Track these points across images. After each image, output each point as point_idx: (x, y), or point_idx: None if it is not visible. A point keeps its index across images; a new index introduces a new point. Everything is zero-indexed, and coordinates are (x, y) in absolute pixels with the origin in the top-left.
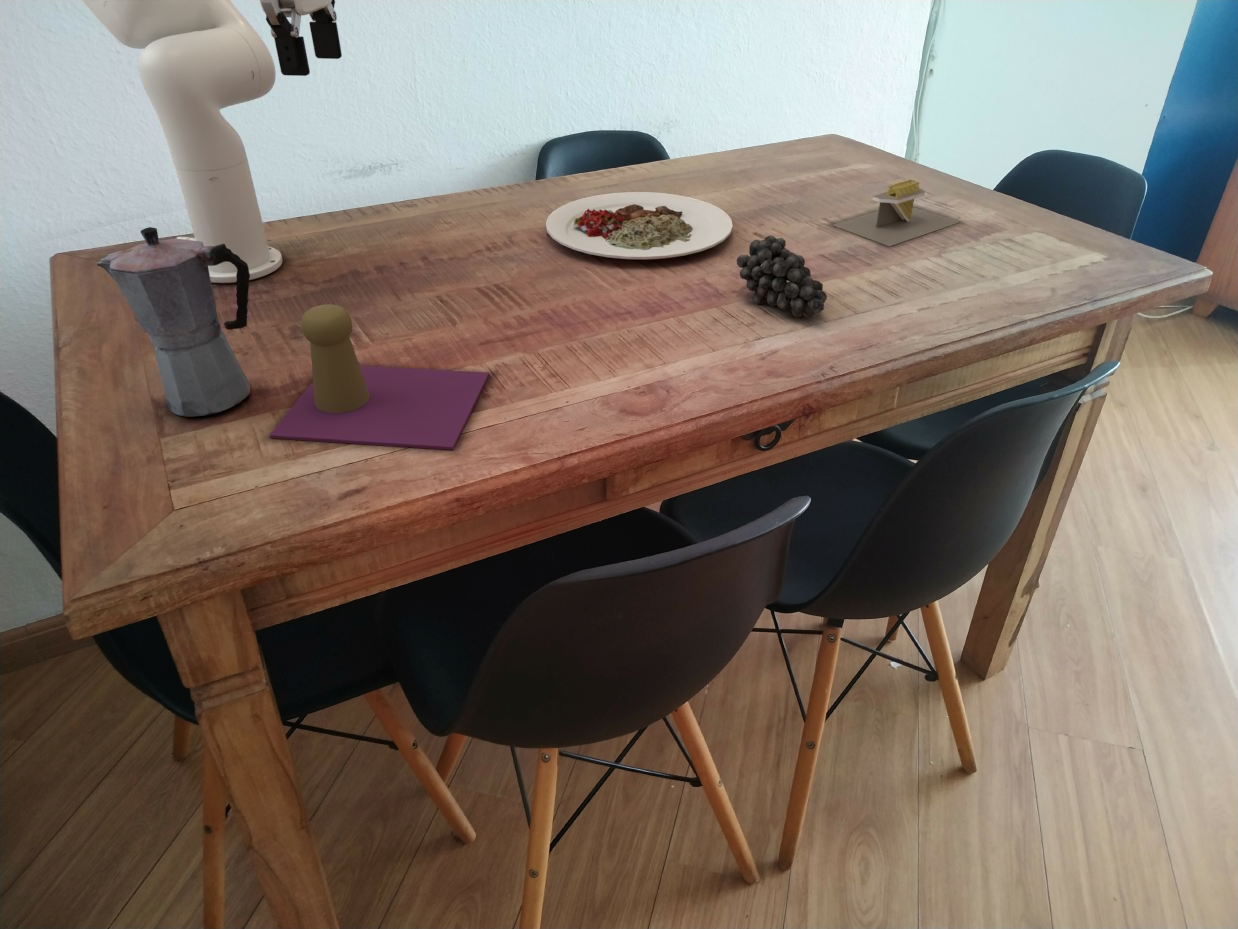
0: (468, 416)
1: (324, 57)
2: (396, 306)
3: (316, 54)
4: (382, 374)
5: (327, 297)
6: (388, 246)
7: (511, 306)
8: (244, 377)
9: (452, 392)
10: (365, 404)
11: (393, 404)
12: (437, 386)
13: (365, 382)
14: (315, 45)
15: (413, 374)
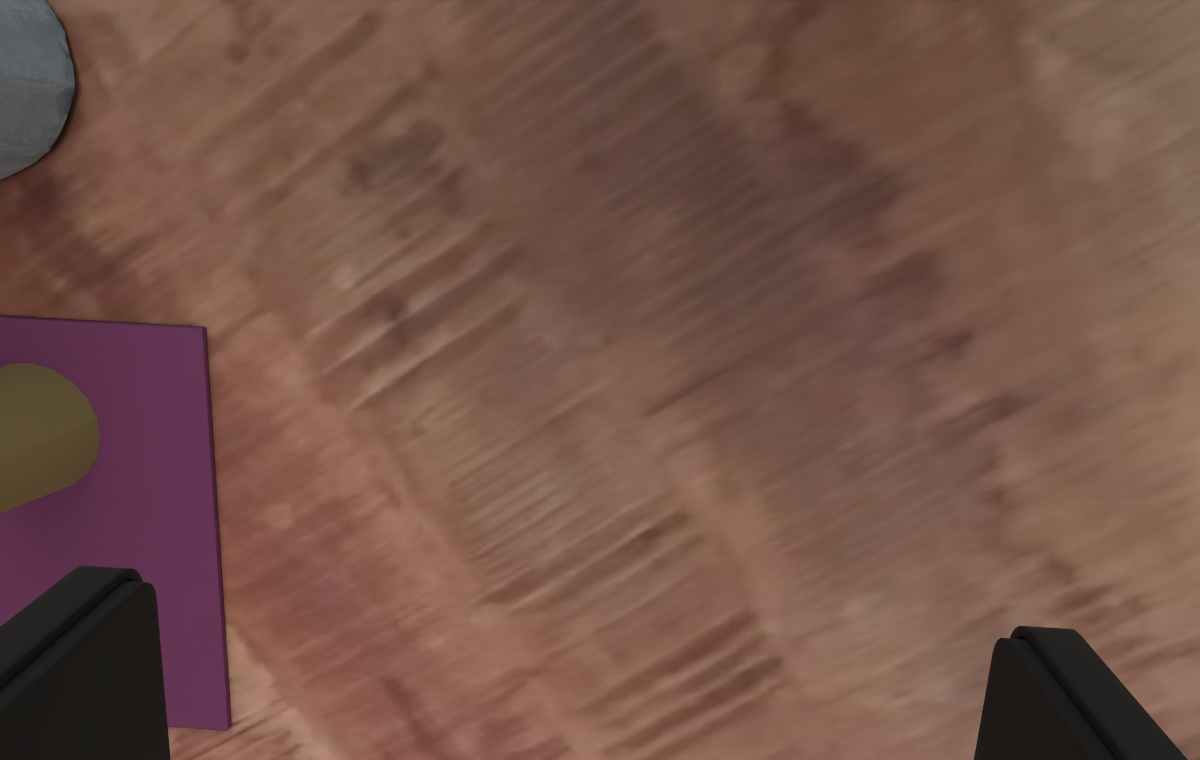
0: None
1: (982, 720)
2: (604, 411)
3: (1006, 657)
4: (171, 490)
5: (660, 166)
6: (1137, 245)
7: (625, 724)
8: (1, 161)
9: None
10: None
11: (39, 552)
12: None
13: (50, 493)
14: (1045, 726)
15: (186, 564)
